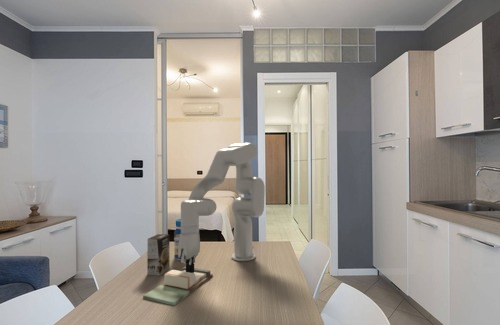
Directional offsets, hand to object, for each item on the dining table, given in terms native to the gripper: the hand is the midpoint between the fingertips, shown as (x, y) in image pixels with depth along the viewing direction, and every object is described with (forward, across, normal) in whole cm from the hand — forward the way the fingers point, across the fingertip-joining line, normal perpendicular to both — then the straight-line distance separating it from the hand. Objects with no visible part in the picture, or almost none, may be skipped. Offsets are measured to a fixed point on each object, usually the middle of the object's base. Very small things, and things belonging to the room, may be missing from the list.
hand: (190, 272), depth 112 cm
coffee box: (+3, -3, -19) cm, 19 cm away
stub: (+2, +7, 0) cm, 7 cm away
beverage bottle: (+3, -22, -20) cm, 30 cm away
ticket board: (+3, +6, 0) cm, 7 cm away
